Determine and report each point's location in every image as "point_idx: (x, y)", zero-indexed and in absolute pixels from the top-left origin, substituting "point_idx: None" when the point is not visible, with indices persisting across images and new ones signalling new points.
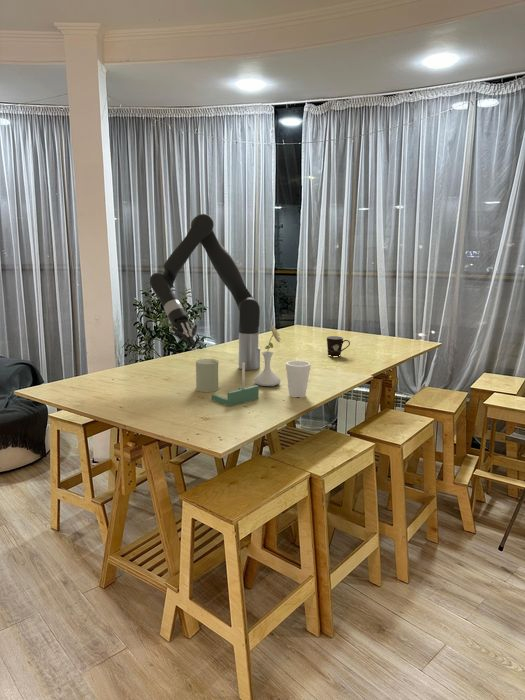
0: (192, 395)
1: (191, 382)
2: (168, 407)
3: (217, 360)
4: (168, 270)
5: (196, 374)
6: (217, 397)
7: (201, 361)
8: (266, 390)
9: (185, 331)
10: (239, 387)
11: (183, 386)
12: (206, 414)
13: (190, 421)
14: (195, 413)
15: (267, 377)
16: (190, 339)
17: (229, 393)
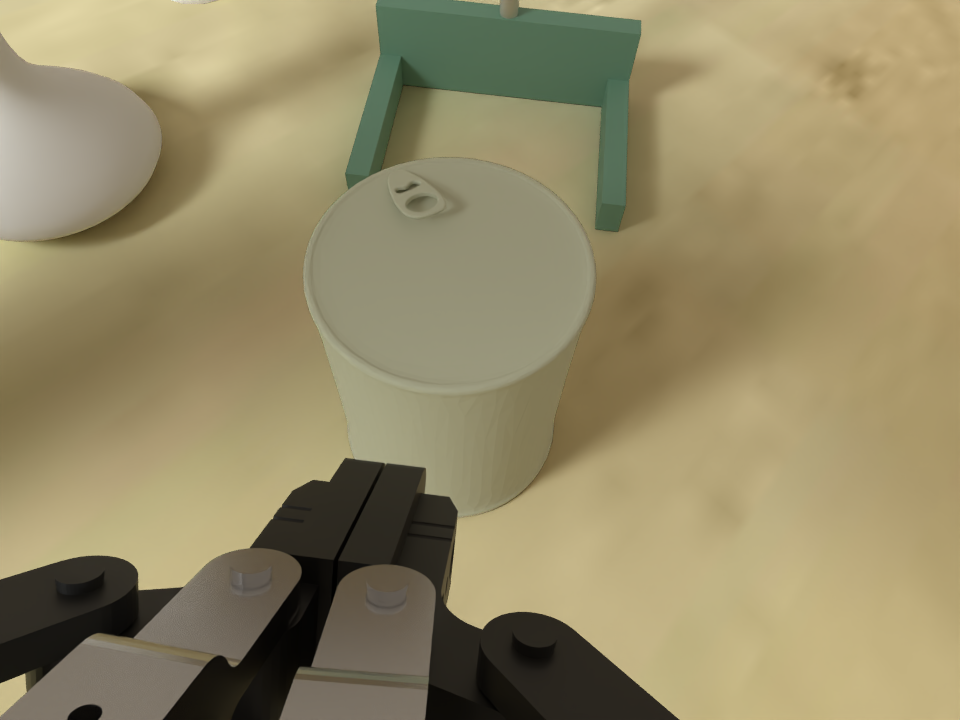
0: (663, 384)
1: None
2: (956, 317)
3: (330, 210)
4: None
5: (557, 399)
6: (625, 157)
7: (494, 313)
8: (205, 114)
9: (389, 677)
10: (352, 174)
11: None
12: (807, 104)
13: (936, 97)
14: (852, 147)
15: (95, 84)
16: (379, 524)
17: (640, 22)
